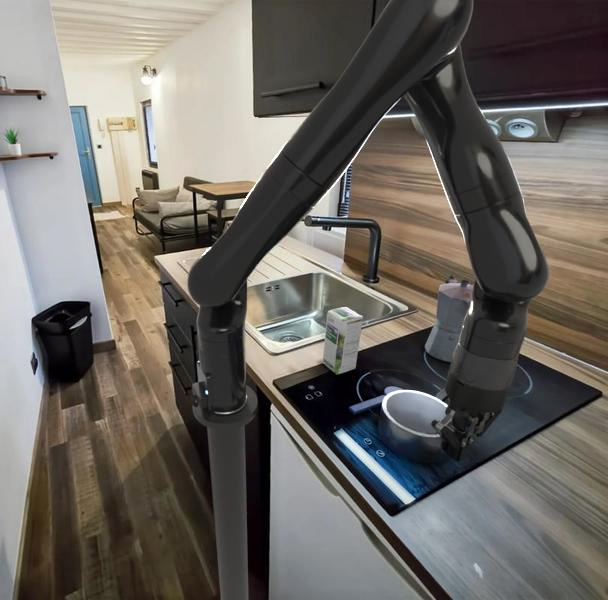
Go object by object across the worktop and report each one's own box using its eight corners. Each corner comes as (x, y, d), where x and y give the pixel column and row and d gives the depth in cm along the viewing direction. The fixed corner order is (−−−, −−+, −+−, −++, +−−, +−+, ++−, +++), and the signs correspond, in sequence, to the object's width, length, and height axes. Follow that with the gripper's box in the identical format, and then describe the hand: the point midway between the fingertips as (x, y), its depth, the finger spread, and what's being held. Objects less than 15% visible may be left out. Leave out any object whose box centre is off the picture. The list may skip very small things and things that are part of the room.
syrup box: (321, 362, 90) (325, 310, 84) (340, 356, 92) (346, 305, 86) (336, 375, 85) (342, 321, 79) (356, 368, 87) (364, 315, 81)
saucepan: (428, 475, 60) (436, 448, 58) (364, 431, 69) (368, 407, 67) (481, 424, 69) (489, 399, 67) (418, 392, 78) (423, 368, 76)
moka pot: (435, 369, 85) (455, 291, 77) (411, 335, 99) (426, 266, 90) (480, 370, 84) (505, 291, 75) (449, 335, 97) (468, 265, 89)
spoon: (359, 419, 72) (359, 415, 72) (344, 405, 76) (344, 401, 76) (411, 400, 76) (412, 396, 76) (395, 387, 80) (396, 384, 80)
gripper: (486, 349, 59) (462, 429, 66) (424, 370, 55) (406, 453, 63) (538, 374, 53) (506, 460, 60) (472, 400, 49) (446, 488, 56)
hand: (455, 456), depth 61 cm, fingers closed
